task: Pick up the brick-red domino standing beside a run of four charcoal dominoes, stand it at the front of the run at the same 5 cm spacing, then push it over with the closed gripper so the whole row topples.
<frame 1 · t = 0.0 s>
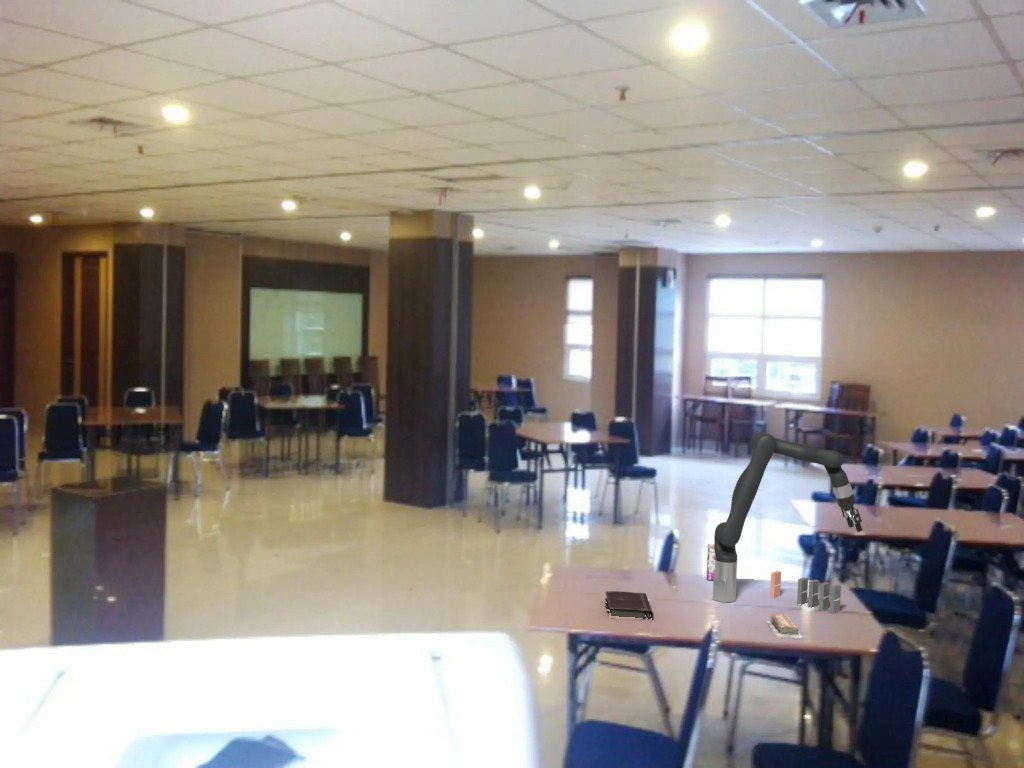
hand: (855, 529, 412), 31 cm above the table, tool tilted 20°, fingers open, 8 cm apart
packaged product: (783, 632, 370), on the table
candy bar box: (718, 580, 442), on the table
domino 3: (812, 606, 403), on the table
domino 5: (834, 612, 396), on the table
domino 4: (823, 609, 399), on the table
diary: (627, 611, 392), on the table
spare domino: (775, 597, 416), on the table
domino 2: (802, 603, 407), on the table
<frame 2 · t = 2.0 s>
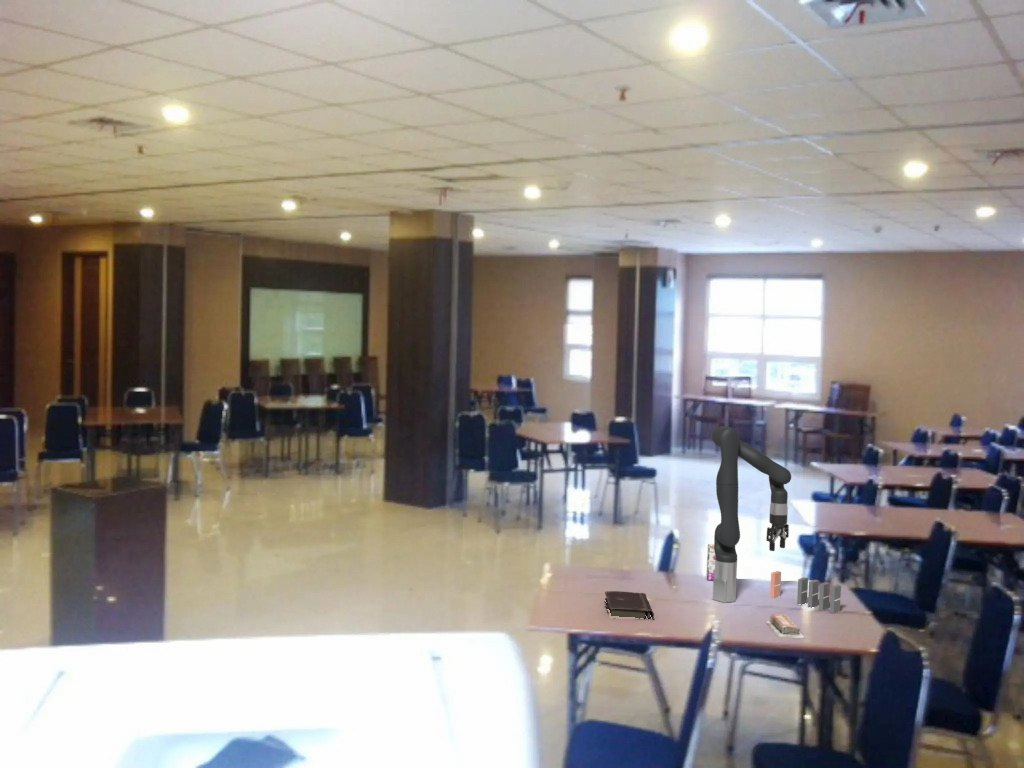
hand: (777, 549, 415), 21 cm above the table, tool pointing down, fingers open, 8 cm apart
nothing on the table moved.
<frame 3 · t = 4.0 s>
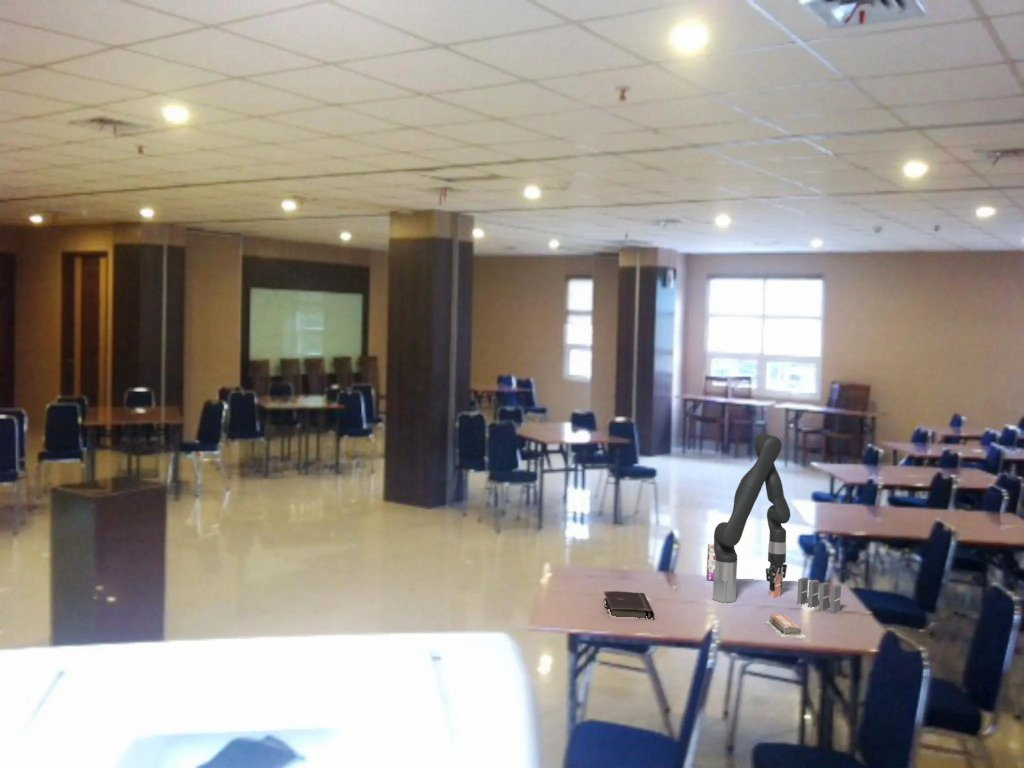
hand: (775, 589, 416), 3 cm above the table, tool pointing down, fingers closed on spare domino, 5 cm apart
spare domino: (775, 597, 416), on the table, touching gripper
everything else where it was.
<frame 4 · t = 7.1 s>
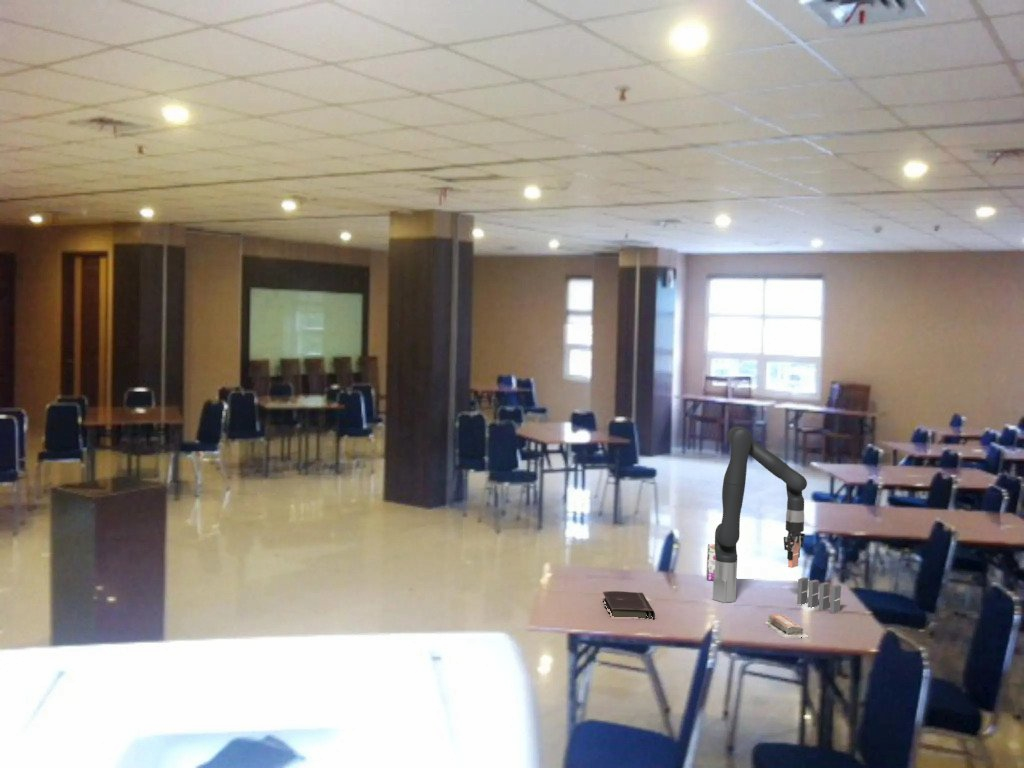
hand: (793, 558, 409), 19 cm above the table, tool pointing down, fingers closed on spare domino, 5 cm apart
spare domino: (793, 566, 409), point 15 cm above the table, touching gripper
when the fingers open (4 cm above the table, at t = 10.1 s): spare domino stays where it is, on the table.
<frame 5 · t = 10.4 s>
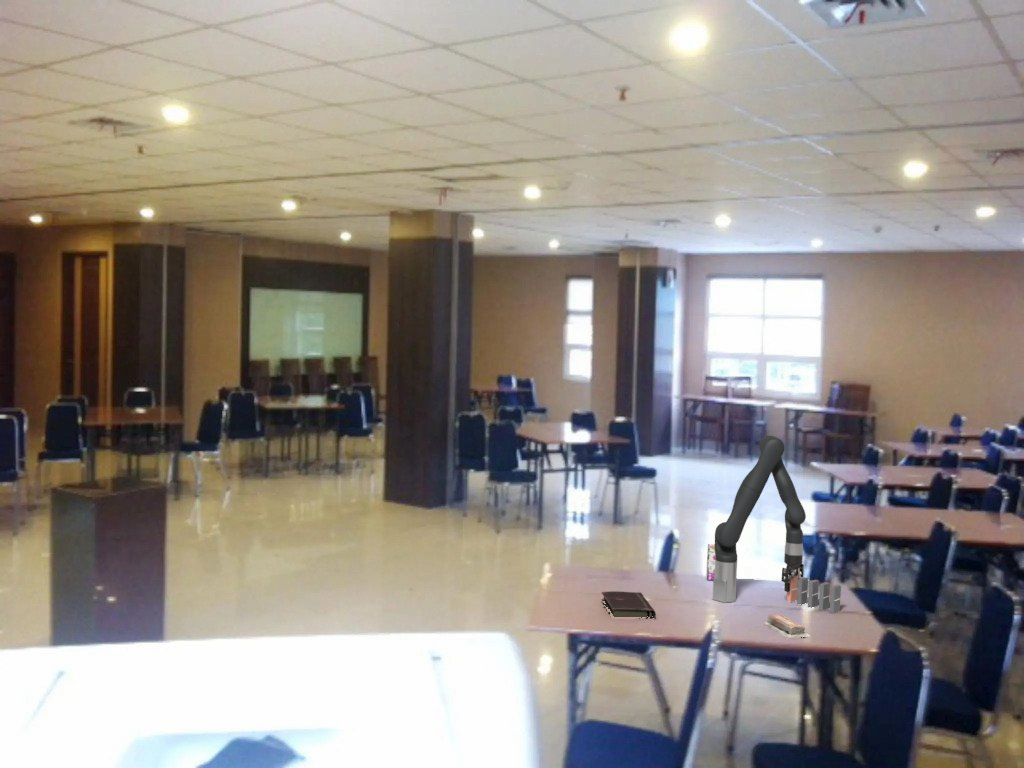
hand: (792, 589, 410), 5 cm above the table, tool pointing down, fingers open, 8 cm apart
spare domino: (791, 601, 410), on the table
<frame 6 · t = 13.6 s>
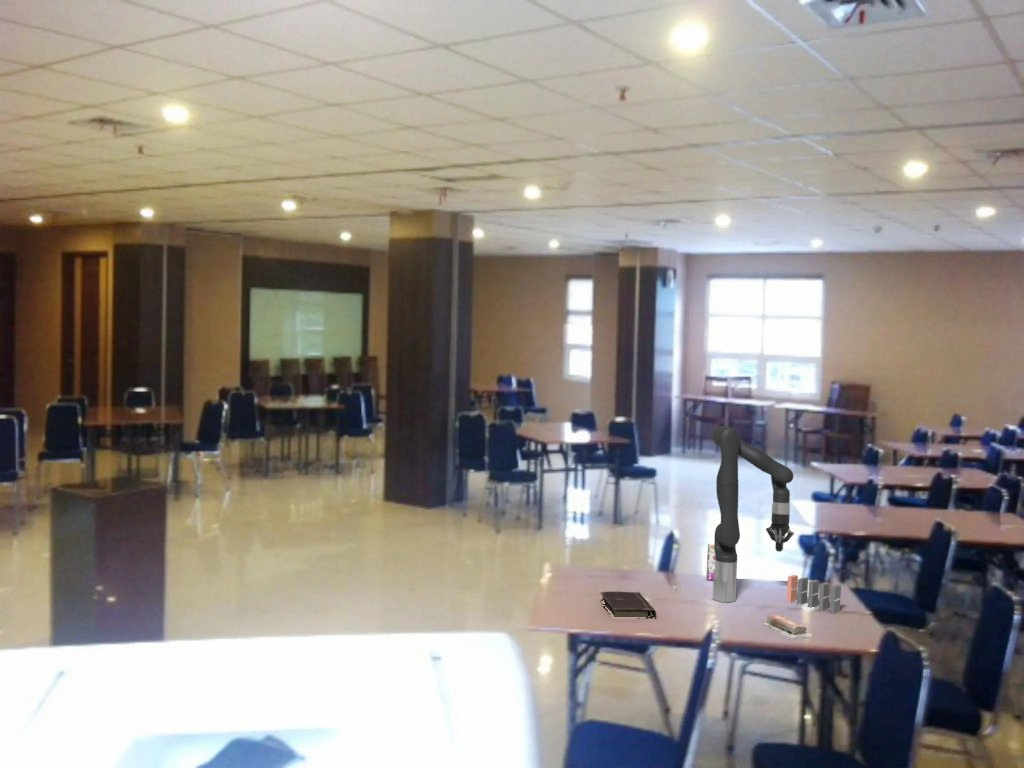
hand: (779, 551, 414), 21 cm above the table, tool pointing down, fingers closed
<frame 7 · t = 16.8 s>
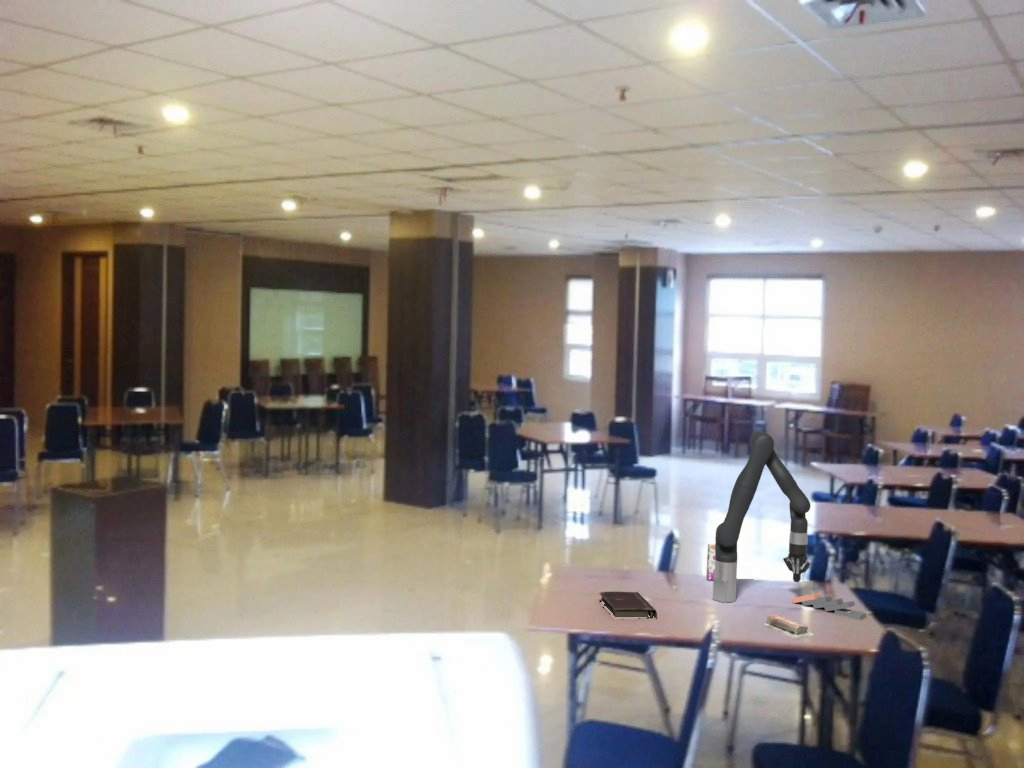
hand: (796, 581, 408), 9 cm above the table, tool pointing down, fingers closed
domino 3: (816, 605, 402), point 1 cm above the table, tilted 68°
domino 5: (837, 610, 395), point 1 cm above the table, tilted 89°, touching domino 4
domino 4: (827, 608, 398), point 1 cm above the table, tilted 68°, touching domino 5
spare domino: (794, 600, 409), point 1 cm above the table, tilted 68°, touching domino 2
domino 2: (805, 602, 406), point 1 cm above the table, tilted 68°, touching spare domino
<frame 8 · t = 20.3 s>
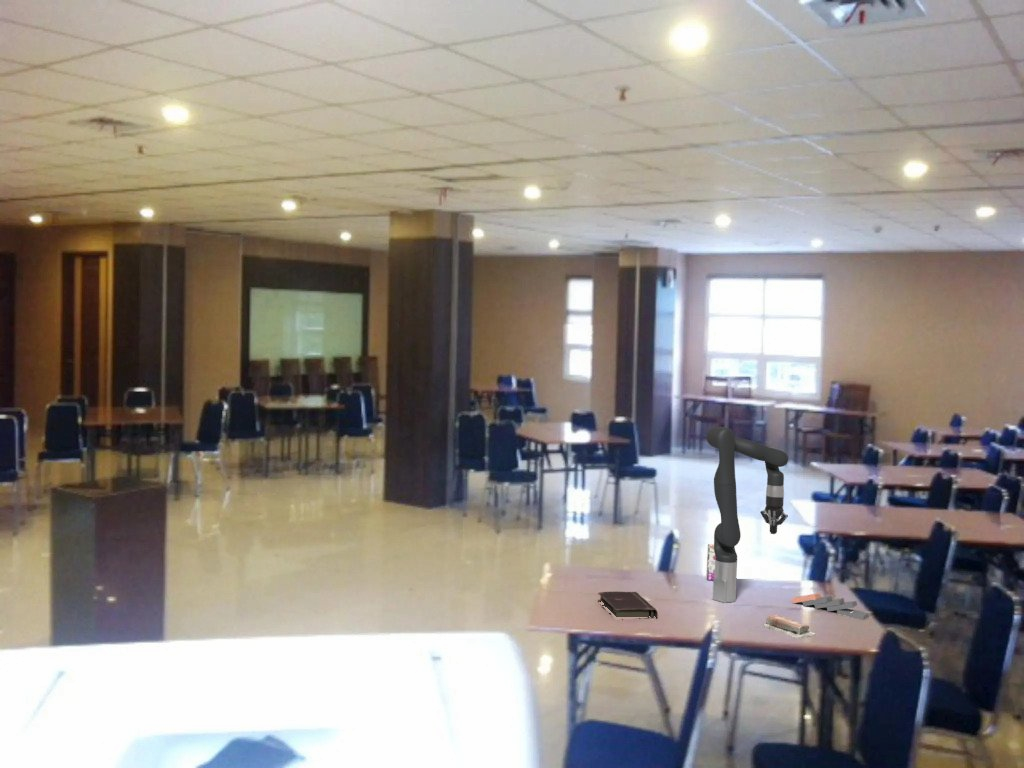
hand: (773, 533, 419), 27 cm above the table, tool pointing down, fingers closed
domino 3: (817, 605, 402), point 1 cm above the table, tilted 69°, touching domino 2, domino 4
domino 4: (829, 608, 398), point 1 cm above the table, tilted 70°, touching domino 3, domino 5
domino 2: (805, 602, 405), point 1 cm above the table, tilted 69°, touching domino 3, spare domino
at the end: domino 5 tilted 89°; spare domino tilted 69°; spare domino inside the target area (1.6 cm from its centre), point 0.8 cm above the table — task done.
